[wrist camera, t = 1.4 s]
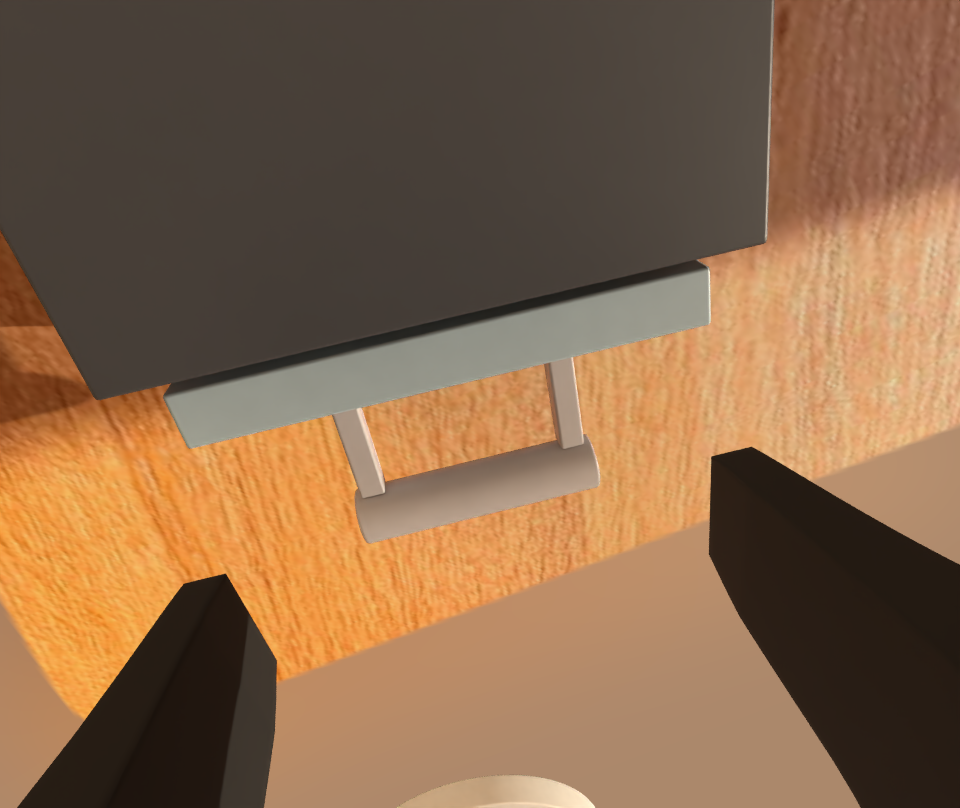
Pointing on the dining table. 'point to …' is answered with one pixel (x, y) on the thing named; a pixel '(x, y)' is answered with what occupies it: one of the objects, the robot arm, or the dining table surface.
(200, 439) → the tray
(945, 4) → the dining table surface
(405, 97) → the box
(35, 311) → the dining table surface
